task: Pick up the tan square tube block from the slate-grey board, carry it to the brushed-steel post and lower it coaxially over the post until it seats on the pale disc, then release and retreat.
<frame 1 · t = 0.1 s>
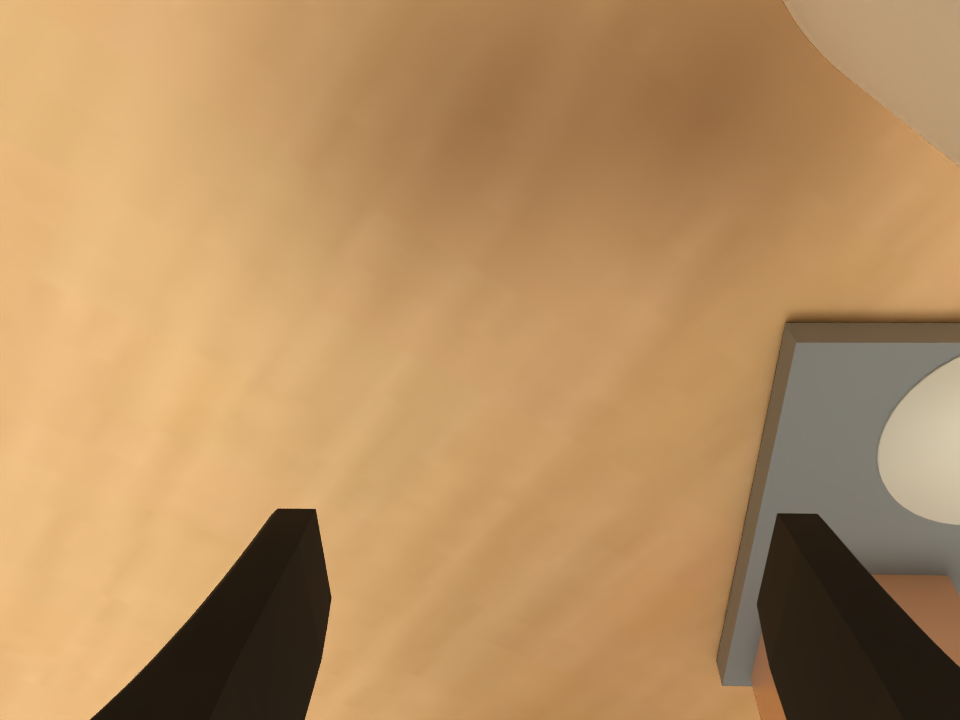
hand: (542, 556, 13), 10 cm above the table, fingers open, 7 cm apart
tan square tube block: (843, 630, 27), point 1 cm above the table, touching post board
post board: (910, 518, 26), on the table
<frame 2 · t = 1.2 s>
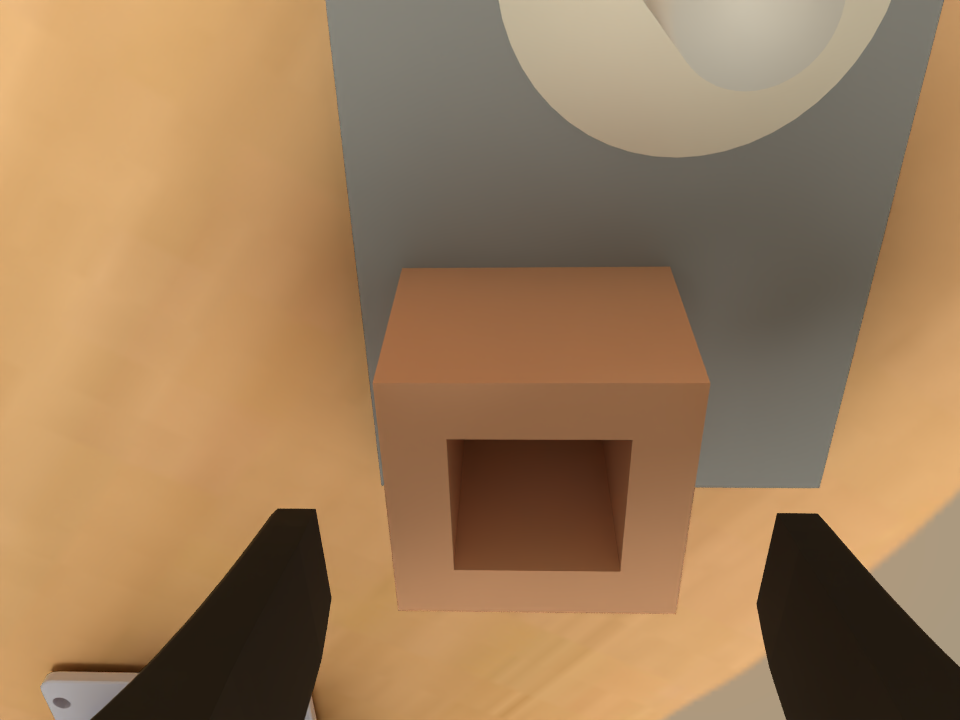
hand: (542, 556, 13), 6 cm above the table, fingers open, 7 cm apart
tan square tube block: (533, 378, 18), point 1 cm above the table, touching post board
post board: (612, 179, 16), on the table
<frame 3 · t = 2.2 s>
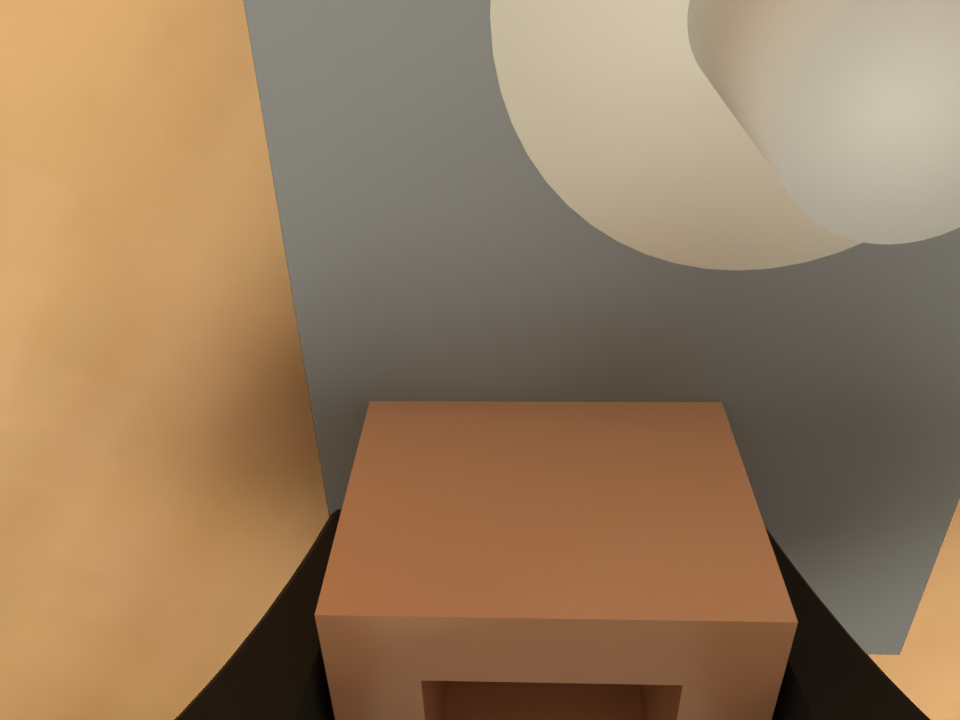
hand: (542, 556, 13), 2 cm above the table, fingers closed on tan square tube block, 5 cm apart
tan square tube block: (541, 529, 14), point 1 cm above the table, touching gripper, post board
post board: (645, 285, 12), on the table
when the fingers open (3 cm above the table, at t = 5.2 s): tan square tube block drops 2 cm, resting on post board.
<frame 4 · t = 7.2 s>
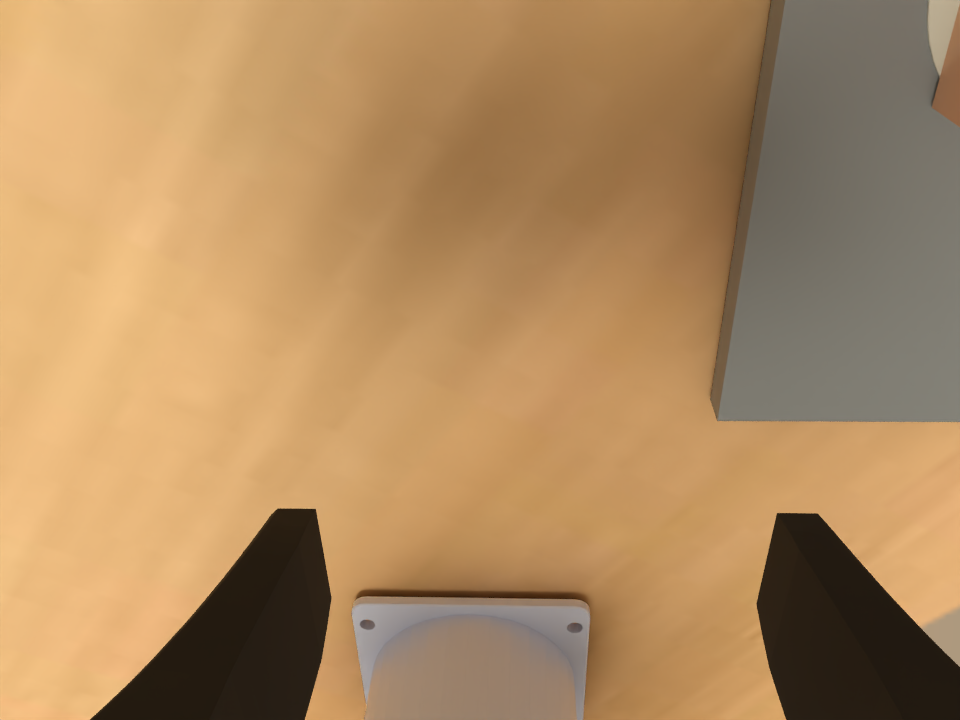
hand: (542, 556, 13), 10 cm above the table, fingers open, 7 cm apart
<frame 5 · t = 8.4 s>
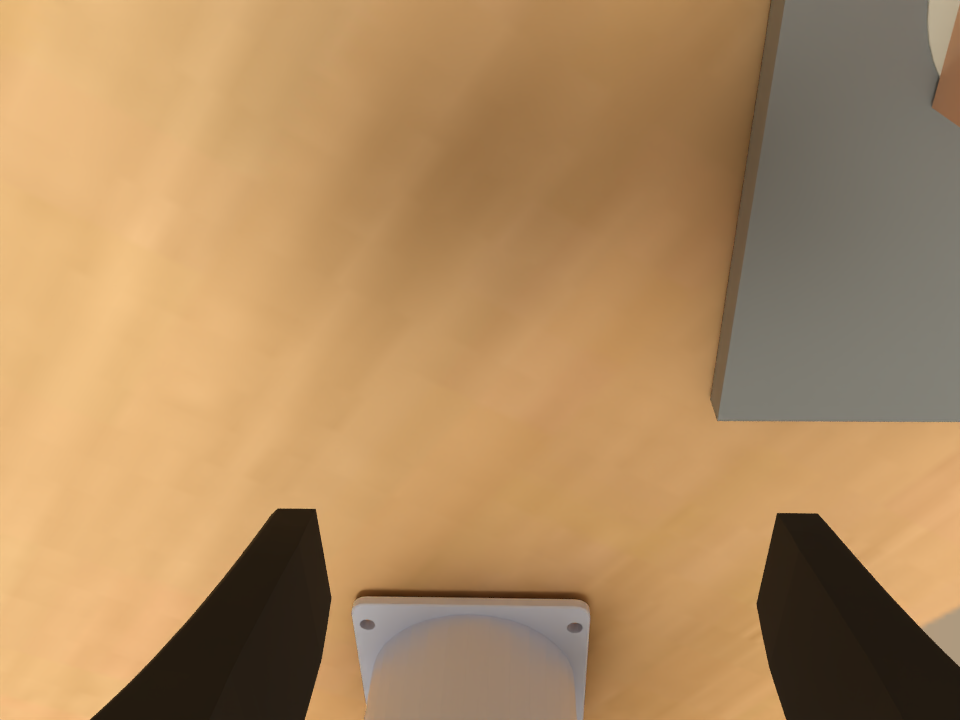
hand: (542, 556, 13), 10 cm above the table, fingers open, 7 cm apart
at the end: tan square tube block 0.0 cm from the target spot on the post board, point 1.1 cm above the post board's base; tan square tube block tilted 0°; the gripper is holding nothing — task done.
